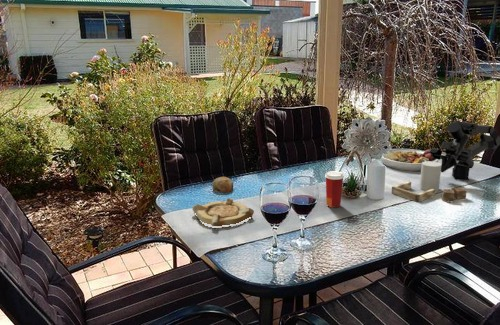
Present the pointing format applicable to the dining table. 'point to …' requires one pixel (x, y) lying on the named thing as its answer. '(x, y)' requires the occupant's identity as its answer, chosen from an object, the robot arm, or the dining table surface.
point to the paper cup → (334, 188)
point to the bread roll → (222, 185)
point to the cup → (430, 175)
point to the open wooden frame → (402, 191)
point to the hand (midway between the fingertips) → (441, 171)
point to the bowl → (407, 159)
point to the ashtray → (222, 212)
